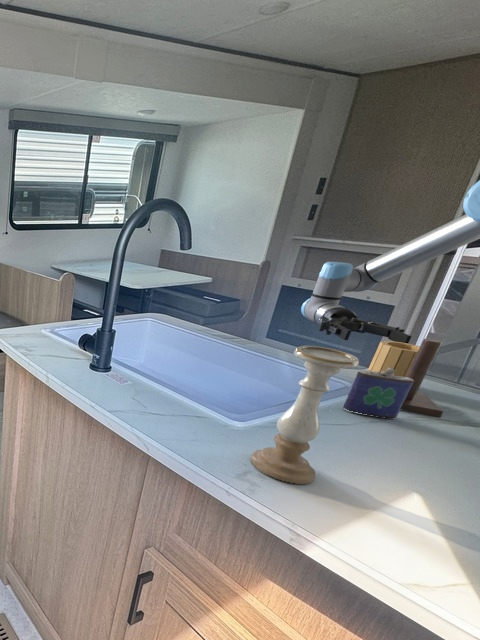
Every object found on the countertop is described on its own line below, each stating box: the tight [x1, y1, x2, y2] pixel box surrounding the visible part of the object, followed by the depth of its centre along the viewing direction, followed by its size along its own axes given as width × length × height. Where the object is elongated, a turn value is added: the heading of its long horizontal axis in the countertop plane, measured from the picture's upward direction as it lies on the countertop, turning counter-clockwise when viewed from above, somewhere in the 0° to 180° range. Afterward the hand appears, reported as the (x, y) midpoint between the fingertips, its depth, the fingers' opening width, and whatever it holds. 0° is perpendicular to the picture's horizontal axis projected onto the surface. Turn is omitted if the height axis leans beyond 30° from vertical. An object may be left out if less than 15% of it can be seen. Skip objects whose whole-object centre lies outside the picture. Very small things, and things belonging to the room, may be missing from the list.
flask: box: [342, 367, 414, 419], centre depth 89 cm, size 9×3×11 cm, turn 68°
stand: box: [400, 338, 444, 418], centre depth 94 cm, size 10×10×15 cm
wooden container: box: [367, 340, 420, 377], centre depth 106 cm, size 8×8×10 cm
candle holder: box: [250, 345, 360, 485], centre depth 66 cm, size 9×9×20 cm
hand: (377, 338), depth 114 cm, fingers open, 13 cm apart
